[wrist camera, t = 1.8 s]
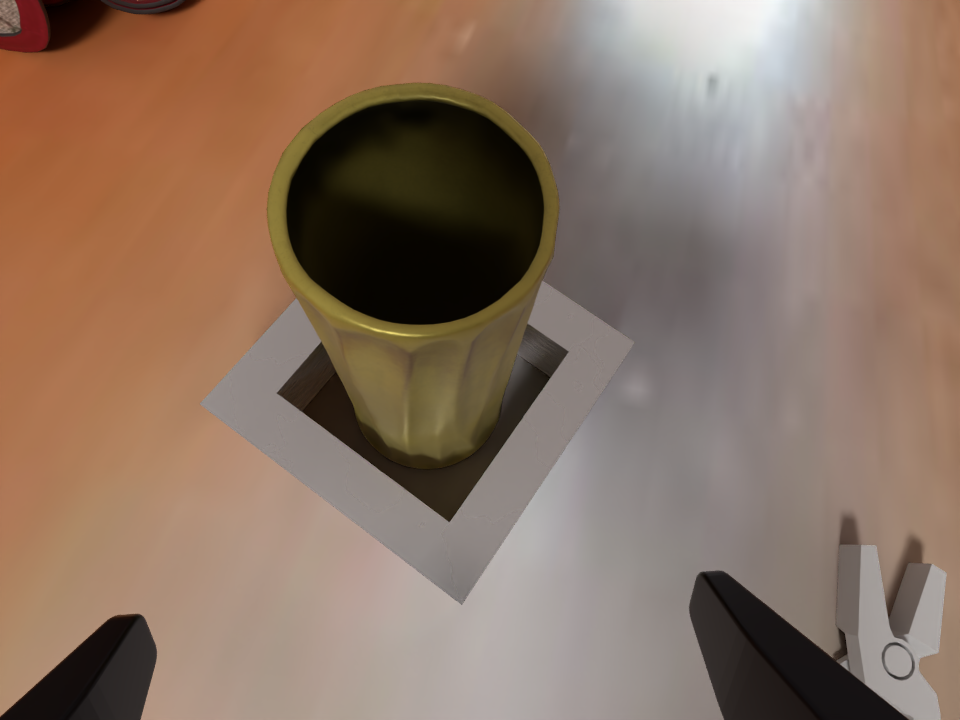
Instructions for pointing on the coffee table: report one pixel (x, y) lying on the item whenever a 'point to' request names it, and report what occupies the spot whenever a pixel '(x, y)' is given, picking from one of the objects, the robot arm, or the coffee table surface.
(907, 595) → the pliers
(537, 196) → the vase
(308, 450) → the socket block
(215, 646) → the coffee table surface
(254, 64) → the coffee table surface
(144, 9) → the handbag
